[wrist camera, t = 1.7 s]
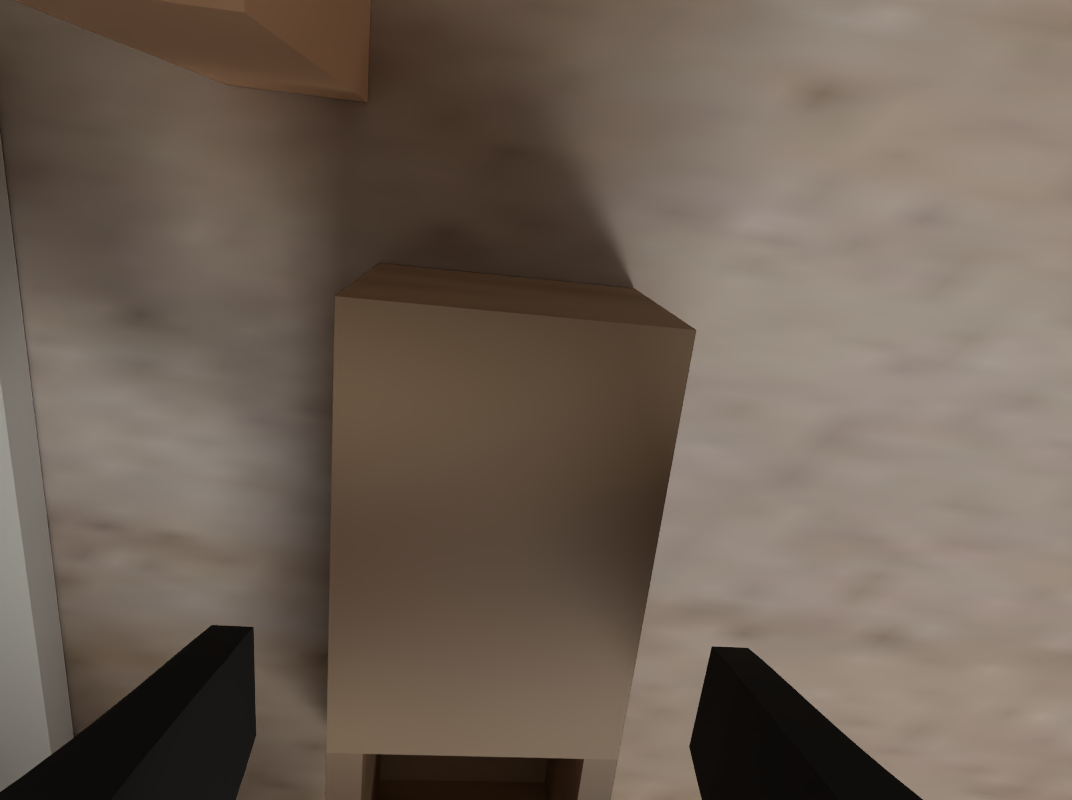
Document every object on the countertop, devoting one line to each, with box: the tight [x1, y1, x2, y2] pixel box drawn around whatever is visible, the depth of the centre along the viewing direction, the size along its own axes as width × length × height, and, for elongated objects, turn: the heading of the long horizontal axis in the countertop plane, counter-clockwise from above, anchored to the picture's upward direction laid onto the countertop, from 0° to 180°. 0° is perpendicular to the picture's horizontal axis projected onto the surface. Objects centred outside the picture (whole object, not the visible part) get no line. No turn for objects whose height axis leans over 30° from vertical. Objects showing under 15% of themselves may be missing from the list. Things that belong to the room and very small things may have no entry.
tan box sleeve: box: [325, 263, 696, 800], centre depth 13 cm, size 12×5×4 cm, turn 174°
